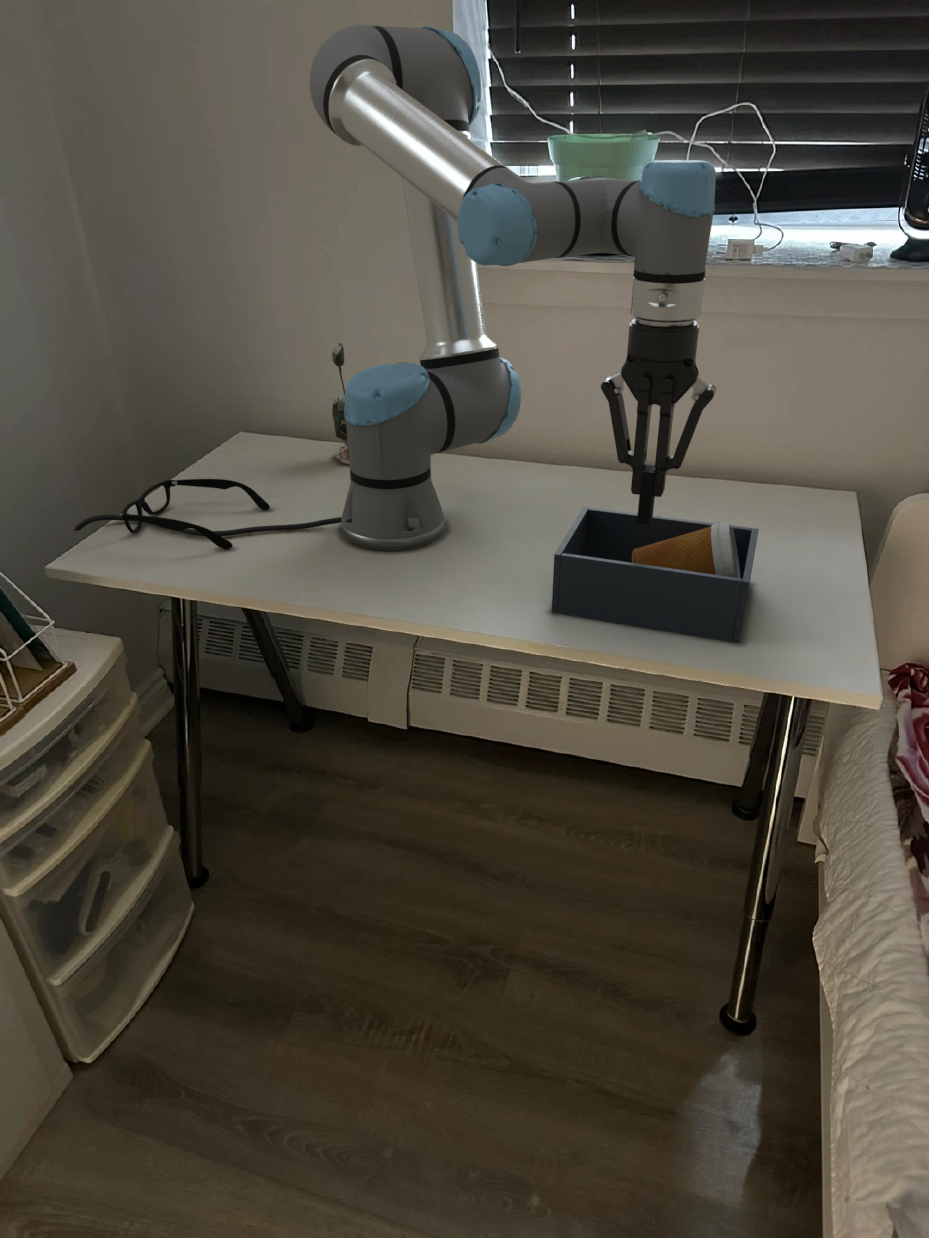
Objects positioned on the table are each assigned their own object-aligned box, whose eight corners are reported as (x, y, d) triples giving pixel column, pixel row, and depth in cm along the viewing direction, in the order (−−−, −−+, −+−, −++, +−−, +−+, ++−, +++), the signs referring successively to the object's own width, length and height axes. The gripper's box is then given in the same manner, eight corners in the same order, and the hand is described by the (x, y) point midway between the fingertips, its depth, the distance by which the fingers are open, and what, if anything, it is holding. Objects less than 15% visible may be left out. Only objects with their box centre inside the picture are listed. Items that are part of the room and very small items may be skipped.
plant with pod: (322, 469, 155) (311, 352, 145) (342, 447, 165) (334, 337, 155) (366, 472, 154) (359, 355, 144) (385, 450, 163) (379, 339, 153)
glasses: (169, 505, 143) (163, 476, 141) (272, 507, 140) (267, 477, 137) (116, 548, 129) (107, 516, 127) (229, 552, 126) (223, 519, 123)
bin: (551, 612, 110) (554, 554, 106) (580, 560, 123) (583, 506, 119) (739, 643, 103) (749, 582, 99) (749, 584, 116) (758, 528, 112)
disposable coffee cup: (638, 617, 109) (739, 603, 104) (624, 541, 107) (725, 524, 103) (650, 602, 117) (743, 589, 113) (637, 532, 116) (731, 515, 111)
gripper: (598, 322, 96) (585, 524, 107) (722, 330, 92) (695, 538, 103) (612, 309, 102) (598, 501, 113) (729, 316, 98) (702, 514, 109)
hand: (644, 519), depth 108 cm, fingers closed
